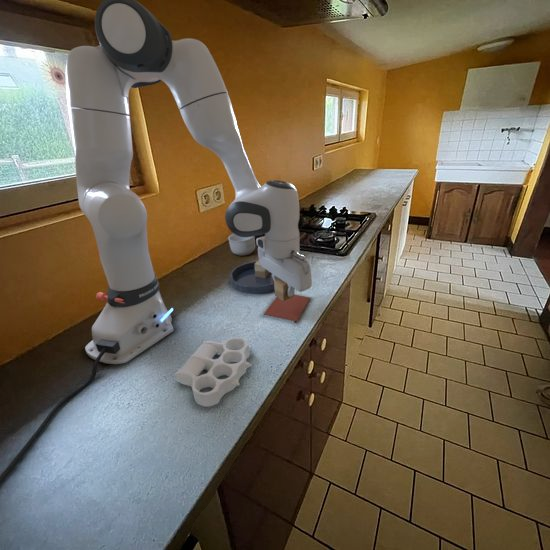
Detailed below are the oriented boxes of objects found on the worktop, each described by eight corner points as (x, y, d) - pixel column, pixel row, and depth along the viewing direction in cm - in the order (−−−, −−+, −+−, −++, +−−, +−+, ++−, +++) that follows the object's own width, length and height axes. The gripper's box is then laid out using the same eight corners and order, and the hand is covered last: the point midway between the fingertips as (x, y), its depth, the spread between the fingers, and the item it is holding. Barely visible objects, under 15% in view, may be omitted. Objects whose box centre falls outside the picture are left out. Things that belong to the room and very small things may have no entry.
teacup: (251, 259, 122) (250, 240, 118) (226, 258, 124) (224, 239, 120) (260, 246, 134) (259, 229, 130) (236, 245, 136) (235, 228, 132)
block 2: (283, 301, 83) (283, 285, 81) (274, 295, 86) (273, 280, 84) (294, 296, 85) (294, 280, 83) (285, 290, 88) (285, 275, 86)
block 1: (265, 278, 106) (264, 265, 103) (255, 276, 107) (254, 263, 105) (270, 273, 109) (269, 260, 107) (260, 271, 110) (259, 259, 108)
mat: (296, 322, 83) (296, 321, 83) (263, 315, 87) (263, 313, 86) (310, 299, 94) (310, 297, 93) (280, 293, 97) (280, 291, 97)
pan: (273, 299, 94) (272, 291, 93) (220, 289, 101) (219, 281, 100) (294, 272, 110) (294, 265, 108) (246, 265, 117) (246, 258, 115)
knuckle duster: (211, 340, 78) (263, 353, 73) (165, 394, 63) (226, 414, 58) (210, 330, 76) (263, 342, 71) (162, 382, 61) (224, 402, 56)
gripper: (318, 255, 72) (317, 303, 78) (271, 232, 87) (273, 274, 94) (297, 262, 69) (297, 312, 76) (252, 237, 84) (256, 280, 91)
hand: (284, 291), depth 85 cm, fingers closed on block 2, 4 cm apart
